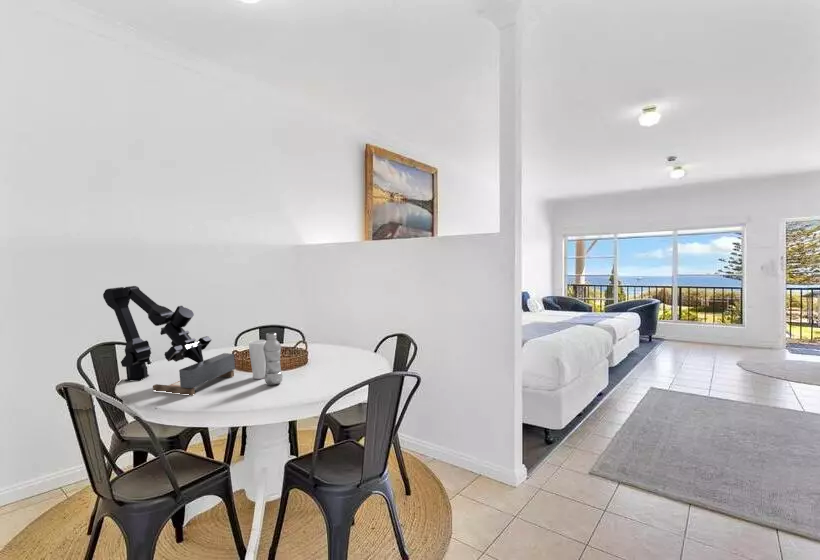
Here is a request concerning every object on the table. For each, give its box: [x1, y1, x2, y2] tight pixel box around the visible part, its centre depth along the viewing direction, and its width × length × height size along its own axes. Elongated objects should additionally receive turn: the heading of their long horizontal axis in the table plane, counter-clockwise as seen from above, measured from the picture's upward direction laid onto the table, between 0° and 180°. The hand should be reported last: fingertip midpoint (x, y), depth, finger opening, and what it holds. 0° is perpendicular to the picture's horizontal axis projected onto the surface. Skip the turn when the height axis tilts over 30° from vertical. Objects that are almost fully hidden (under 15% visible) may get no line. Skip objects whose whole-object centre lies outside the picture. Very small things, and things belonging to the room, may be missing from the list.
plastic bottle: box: [263, 332, 283, 386], centre depth 161 cm, size 6×7×20 cm
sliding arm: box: [178, 352, 236, 388], centre depth 163 cm, size 5×23×6 cm, turn 164°
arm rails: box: [152, 369, 235, 396], centre depth 165 cm, size 18×22×2 cm
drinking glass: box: [248, 339, 267, 380], centre depth 170 cm, size 7×7×15 cm
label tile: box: [169, 380, 180, 386], centre depth 166 cm, size 8×11×1 cm
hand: (202, 363), depth 163 cm, fingers closed
